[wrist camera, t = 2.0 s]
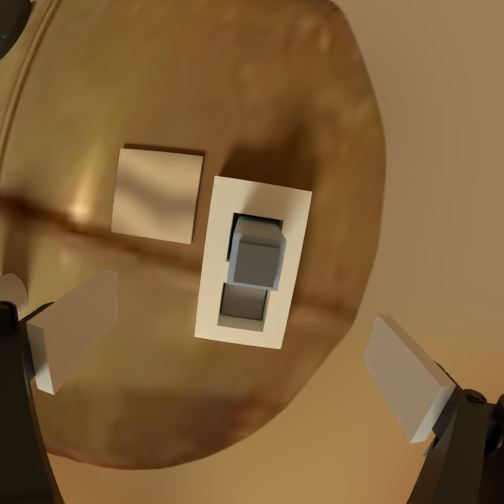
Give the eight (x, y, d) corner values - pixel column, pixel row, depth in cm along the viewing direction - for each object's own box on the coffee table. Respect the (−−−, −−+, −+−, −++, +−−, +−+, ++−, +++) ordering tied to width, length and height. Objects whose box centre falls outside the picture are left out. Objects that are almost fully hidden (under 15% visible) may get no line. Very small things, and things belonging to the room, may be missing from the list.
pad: (122, 148, 34) (120, 148, 33) (203, 156, 34) (202, 156, 34) (113, 231, 36) (111, 231, 35) (191, 243, 36) (190, 244, 36)
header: (218, 176, 35) (214, 175, 31) (306, 190, 35) (312, 191, 32) (199, 323, 39) (194, 336, 35) (278, 335, 39) (280, 349, 36)
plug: (239, 215, 36) (233, 234, 23) (274, 221, 36) (288, 243, 23) (234, 249, 37) (225, 287, 24) (268, 255, 37) (278, 294, 24)
